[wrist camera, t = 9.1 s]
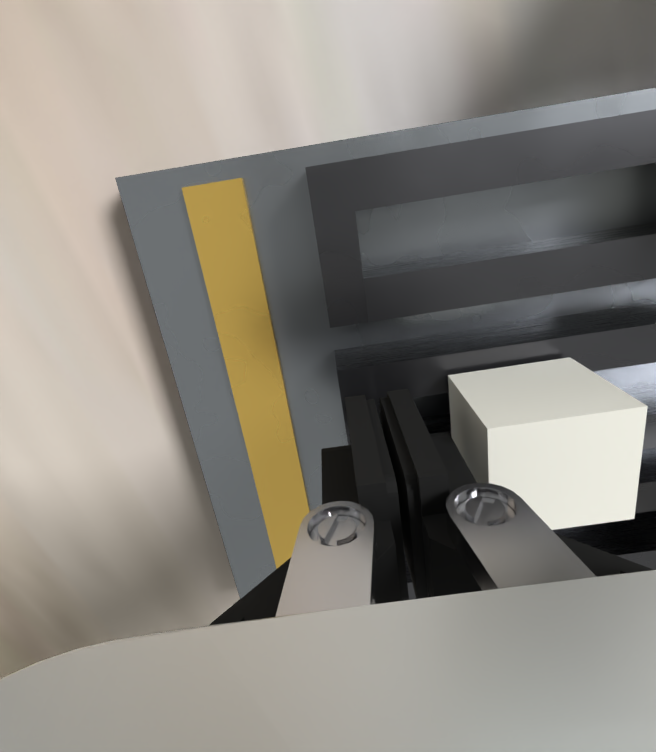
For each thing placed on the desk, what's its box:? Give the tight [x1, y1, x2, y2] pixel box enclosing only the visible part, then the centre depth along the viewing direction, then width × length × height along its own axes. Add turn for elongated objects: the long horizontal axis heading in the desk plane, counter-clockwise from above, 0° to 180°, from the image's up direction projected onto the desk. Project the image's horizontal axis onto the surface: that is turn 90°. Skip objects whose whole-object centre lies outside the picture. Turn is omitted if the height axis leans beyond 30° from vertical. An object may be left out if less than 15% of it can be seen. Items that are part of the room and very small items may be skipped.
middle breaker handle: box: [448, 357, 648, 530], centre depth 12 cm, size 3×3×5 cm
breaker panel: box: [115, 88, 656, 600], centre depth 14 cm, size 15×24×3 cm, turn 99°
